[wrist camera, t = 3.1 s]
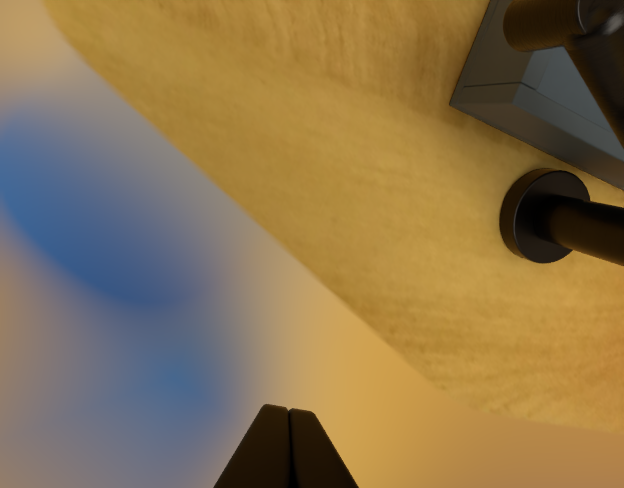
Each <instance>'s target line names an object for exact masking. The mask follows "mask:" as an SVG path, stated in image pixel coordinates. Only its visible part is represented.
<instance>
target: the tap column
mask: <svg viewBox="0 0 624 488" xmlns="http://www.w3.org/2000/svg"><path fill="white" fill-rule="evenodd" d="M500 229H501V234H502V237H503V240H504V242H505V243H506V245H507V247H508V248H509V249H510V250H511V251H512V252H513V253H514V254H516V255H518V256H520V257H522V258H525V259H527V260H530V261H533V262H536V263H551V262H555V261H558V260H560V259H562V258H564V257H565V256H567V255H568V254H569V253H570V252H572V251H573V250H575V251H578V252H581V253H584V254H587V255H590V256H593V257H596V258H600V259H603V260H606V261H609V262H612V263H615V264H618V265H621V266H624V208H622V207H617V206H612V205H607V204H602V203H597V202H592V201H590V196H589V193H588V190H587V188H586V186H585V185H584V183H583V182H582V181H581V180H580V179H579V178H578V177H577V176H576V175H574V174H572V173H570V172H567V171H562V170H555V169H538V170H535V171H532V172H530V173H528V174H526V175H525V176H523V177H522V178H521V179H519V180H518V181H517V182H516V183H515V184H514V185H513V187H512V188H511V189H510V191H509V193H508V194H507V196H506V198H505V200H504V203H503V206H502V210H501V215H500Z"/></svg>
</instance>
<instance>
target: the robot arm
mask: <svg viewBox="0 0 624 488" xmlns="http://www.w3.org/2000/svg"><path fill="white" fill-rule="evenodd" d="M214 488H359V487H358V486H357V484H356V482H355V481H354V479H353V477H352V475H351V474H350V472H349V470H348V469H347V467H346V465H345V464H344V462H343V460H342V459H341V457H340V455H339V454H338V452H337V450H336V449H335V447H334V445H333V444H332V442H331V440H330V439H329V437H328V435H327V434H326V432H325V430H324V429H323V427H322V425H321V424H320V422H319V420H318V419H317V417H316V415H315V414H314V413H313V412H311V411H306V410H300V409H294V408H292V409H290V410H289V411H288V410H287V408H286V407H282V406H276V405H270V404H265V405H263V407H262V408H261V409H260V411H259V413H258V415H257V416H256V418H255V419H254V421H253V423H252V424H251V426H250V428H249V429H248V431H247V433H246V434H245V436H244V438H243V439H242V441H241V443H240V444H239V446H238V448H237V449H236V451H235V453H234V454H233V456H232V458H231V459H230V461H229V463H228V464H227V466H226V468H225V469H224V471H223V472H222V474H221V476H220V478H219V479H218V481H217V482H216V484H215V486H214Z"/></svg>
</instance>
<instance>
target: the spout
mask: <svg viewBox="0 0 624 488" xmlns="http://www.w3.org/2000/svg"><path fill="white" fill-rule="evenodd" d="M503 33H504V37H505V39H506V41H507V43H508V44H509V45H510V46H511V47H512V48H513V49H514V50H516V51H518V52H522V53H527V52H533V51H540V50H546V49H553V48H559V47H564V48H565V50H566V51H567V53H568V55H569V57H570V58H571V60H572V62H573V63H574V65H575V67H576V69H577V70H578V72H579V74H580V75H581V77H582V79H583V81H584V82H585V84H586V86H587V87H588V89H589V91H590V93H591V94H592V96H593V98H594V99H595V101H596V103H597V105H598V106H599V108H600V110H601V111H602V113H603V115H604V117H605V118H606V120H607V122H608V123H609V125H610V127H611V129H612V130H613V132H614V134H615V135H616V137H617V139H618V141H619V142H620V144H621V146H622V147H623V149H624V0H513V1H512V2H511V3H510V4H509V6H508V7H507V9H506V12H505V14H504V18H503Z"/></svg>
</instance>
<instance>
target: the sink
mask: <svg viewBox="0 0 624 488" xmlns="http://www.w3.org/2000/svg"><path fill="white" fill-rule="evenodd" d="M512 1H513V0H491V2H490V4H489V6H488V9H487V11H486V14H485V16H484V19H483V21H482V24H481V26H480V29H479V31H478V34H477V36H476V39H475V41H474V44H473V46H472V49H471V51H470V54H469V56H468V59H467V61H466V64H465V66H464V69H463V71H462V74H461V76H460V79H459V81H458V84H457V86H456V89H455V91H454V94H453V96H452V99H451V101H450V104H449V105H450V106H452V107H454V108H456V109H458V110H460V111H462V112H464V113H466V114H468V115H470V116H472V117H474V118H476V119H479V120H481V121H483V122H485V123H487V124H489V125H491V126H493V127H495V128H497V129H499V130H501V131H503V132H505V133H507V134H509V135H511V136H513V137H515V138H517V139H519V140H521V141H524V142H526V143H528V144H530V145H532V146H534V147H536V148H538V149H540V150H542V151H544V152H546V153H548V154H550V155H552V156H554V157H556V158H558V159H560V160H562V161H564V162H566V163H569V164H571V165H573V166H575V167H577V168H579V169H581V170H583V171H585V172H587V173H589V174H591V175H593V176H595V177H597V178H599V179H601V180H603V181H605V182H607V183H609V184H612V185H614V186H616V187H618V188H620V189H622V190H624V149H623V147H622V146H621V144H620V142H619V141H618V139H617V137H616V135H615V134H614V132H613V130H612V129H611V127H610V125H609V123H608V122H607V120H606V118H605V117H604V115H603V113H602V111H601V110H600V108H599V106H598V105H597V103H596V101H595V99H594V98H593V96H592V94H591V93H590V91H589V89H588V87H587V86H586V84H585V82H584V81H583V79H582V77H581V75H580V74H579V72H578V70H577V69H576V67H575V65H574V63H573V62H572V60H571V58H570V57H569V55H568V53H567V51H566V50H565V48H564V47H559V48H553V49H546V50H540V51H533V52H527V53H522V52H518V51H516V50H514V49H513V48H512V47H511V46H510V45H509V44H508V43H507V41H506V39H505V37H504V33H503V18H504V14H505V12H506V9H507V7H508V6H509V4H510V3H511V2H512Z"/></svg>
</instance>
